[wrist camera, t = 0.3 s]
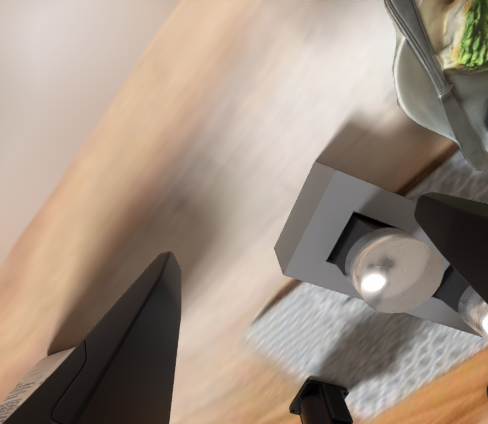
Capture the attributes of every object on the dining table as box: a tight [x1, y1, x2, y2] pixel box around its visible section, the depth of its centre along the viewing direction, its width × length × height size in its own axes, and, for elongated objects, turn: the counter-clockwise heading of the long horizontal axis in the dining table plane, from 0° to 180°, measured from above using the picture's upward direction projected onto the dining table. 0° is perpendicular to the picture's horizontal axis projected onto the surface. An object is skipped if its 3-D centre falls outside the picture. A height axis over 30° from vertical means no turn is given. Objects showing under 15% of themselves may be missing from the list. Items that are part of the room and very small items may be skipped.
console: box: [274, 162, 482, 337], centre depth 25 cm, size 10×33×5 cm, turn 69°
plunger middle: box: [434, 264, 488, 341], centre depth 21 cm, size 6×6×7 cm
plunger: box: [329, 213, 444, 313], centre depth 19 cm, size 6×6×7 cm
